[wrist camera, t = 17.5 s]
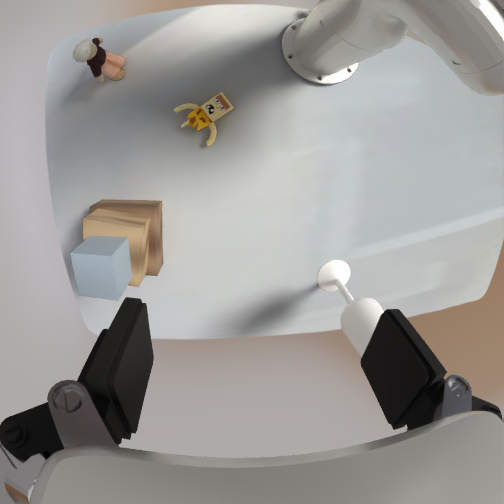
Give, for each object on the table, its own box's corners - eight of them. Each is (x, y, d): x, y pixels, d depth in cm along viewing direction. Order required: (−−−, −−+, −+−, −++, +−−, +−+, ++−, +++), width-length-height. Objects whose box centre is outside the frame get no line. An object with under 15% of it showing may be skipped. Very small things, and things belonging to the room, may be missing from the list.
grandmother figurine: (132, 79, 33) (97, 61, 21) (111, 90, 33) (72, 78, 21) (121, 43, 30) (87, 18, 18) (101, 54, 30) (63, 35, 18)
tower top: (97, 208, 36) (83, 218, 32) (151, 217, 38) (141, 228, 33) (97, 261, 40) (85, 275, 35) (147, 271, 41) (138, 287, 36)
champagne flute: (323, 296, 51) (371, 394, 29) (312, 269, 48) (364, 367, 26) (353, 281, 50) (415, 370, 28) (345, 253, 48) (415, 340, 26)
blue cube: (90, 235, 33) (70, 253, 27) (128, 237, 33) (111, 256, 28) (96, 273, 35) (79, 295, 30) (132, 277, 36) (118, 300, 30)
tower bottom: (102, 199, 41) (89, 206, 36) (162, 200, 42) (154, 208, 37) (107, 258, 45) (97, 270, 40) (163, 262, 46) (157, 275, 42)
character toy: (166, 111, 33) (212, 78, 32) (171, 112, 36) (214, 82, 34) (199, 153, 36) (245, 121, 34) (201, 152, 39) (244, 122, 37)
